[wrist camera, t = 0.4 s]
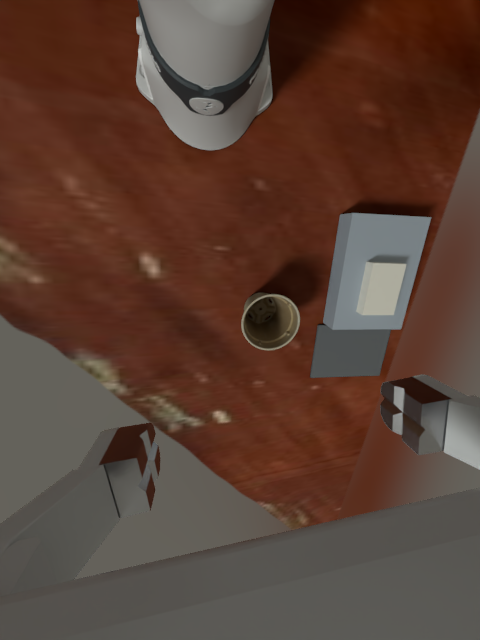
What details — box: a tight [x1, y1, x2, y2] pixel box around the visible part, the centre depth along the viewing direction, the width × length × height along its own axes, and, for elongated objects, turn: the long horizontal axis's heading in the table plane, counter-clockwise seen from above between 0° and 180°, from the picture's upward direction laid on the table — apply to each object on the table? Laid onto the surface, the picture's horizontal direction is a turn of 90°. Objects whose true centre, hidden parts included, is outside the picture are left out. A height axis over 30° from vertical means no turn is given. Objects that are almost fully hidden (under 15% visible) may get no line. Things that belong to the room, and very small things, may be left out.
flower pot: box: [241, 293, 300, 350], centre depth 44 cm, size 9×9×9 cm
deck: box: [323, 213, 431, 330], centre depth 46 cm, size 20×14×4 cm
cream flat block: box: [356, 262, 407, 315], centre depth 44 cm, size 9×6×2 cm, turn 177°
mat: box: [310, 325, 391, 378], centre depth 53 cm, size 12×16×1 cm
